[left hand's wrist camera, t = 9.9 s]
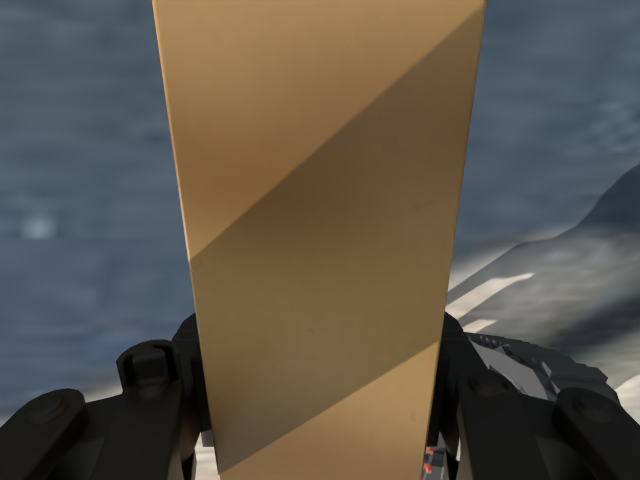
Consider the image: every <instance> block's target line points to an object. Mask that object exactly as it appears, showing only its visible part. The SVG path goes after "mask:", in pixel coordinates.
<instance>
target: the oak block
mask: <svg viewBox="0 0 640 480" xmlns="http://www.w3.org/2000/svg"><path fill="white" fill-rule="evenodd" d="M152 3H153V10H154V18H155V25H156V32H157V39H158V46H159V54H160V61H161V68H162V75H163V82H164V90H165V97H166V104H167V111H168V118H169V125H170V133H171V140H172V147H173V154H174V161H175V169H176V176H177V183H178V190H179V197H180V205H181V212H182V219H183V226H184V233H185V241H186V248H187V255H188V262H189V269H190V276H191V284H192V291H193V298H194V305H195V312H196V320H197V327H198V334H199V341H200V348H201V356H202V363H203V370H204V377H205V384H206V391H207V399H208V406H209V413H210V420H211V427H212V435H213V442H214V449H215V456H216V463H217V471H218V478H219V480H422V475H423V468H424V461H425V453H426V446H427V439H428V431H429V424H430V416H431V409H432V402H433V394H434V387H435V380H436V372H437V365H438V357H439V350H440V343H441V335H442V328H443V321H444V313H445V306H446V299H447V291H448V284H449V276H450V269H451V262H452V254H453V247H454V240H455V232H456V225H457V218H458V210H459V203H460V195H461V188H462V181H463V173H464V166H465V159H466V151H467V144H468V137H469V129H470V122H471V114H472V107H473V100H474V92H475V85H476V78H477V70H478V63H479V55H480V48H481V41H482V33H483V26H484V19H485V11H486V4H487V0H152Z"/></svg>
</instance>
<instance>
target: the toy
mask: <svg viewBox="0 0 640 480" xmlns="http://www.w3.org/2000/svg"><path fill="white" fill-rule="evenodd" d="M465 333H466V335H467V337H468V338H469V340H470V341H471V343H472V344H473V346H474V347H475V349H476V351H477V352H478V354H479V355H480V357H481V358H482V360H483V361H484V363H485V365H486V366H487V368H488V369H490V370H493V371H495V372H497V373H499V374H501V375H503V376H505V377H506V378H507V379H508V380H509V381H511V382H512V383H513V385H514V386H515V388H516V390H517V392H519V393H521V392H520V390H522V391H526V393H527V394H528V395H529V396H533V397H537V398H541V399H546V400H550V401H555V400H556V397H557V394H558V393H559V392H560V391H561V390H562V389H564V388H569V387H576V388H585V389H588V390H591V391H594V392H597V393H599V394H601V395H603V396H605V397H607V398H609V399H611V400H612V401H614V402H615V403H616V404H617V405H619V406H620V407H621V408H622V409H623V407H622V406H621V404H620V401H619V399H618V396H617V393H616V392H615V391H614V390H613V389H612V388H611V387H610V386H609V385H608V384H606V381H607V379H608V377H607V376H606V375H604V374H603V373H602V372H601V371H600V370H599V369H598V368H594V367H587V366H586V365H585V364H580V363H575V362H574V361H573V360H572V359H571V358H570V357H569V356H561V355H560V354H559V353H558V352H557V351H556V350H554V349H547V348H541V347H539V346H538V345H535V344H530V343H529V342H523V341H522V340H514V339H506V338H504V337H499V336H491V335H483V334H476V333H468V332H465ZM445 448H446V445H445V443H444V440H443V437H442V435H441V432H439V438H438V445H437V447H426V453H425V461H424V468H423V475H422V480H440V479H441V473H442V467H443V460H444V454H445Z"/></svg>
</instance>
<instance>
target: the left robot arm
mask: <svg viewBox="0 0 640 480" xmlns="http://www.w3.org/2000/svg"><path fill="white" fill-rule="evenodd" d="M116 364H117V368H118V372H119V376H120V380H121V385H122V389H123V392H122V394H120V395H117V396H113V397H110V398H105V399H101V400H97V401H92V402H88V403H85V399H84V396H83V394H82V393H81V392H79V391H78V390H74V389H69V388H68V389H60V390H55V391H52V392H49V393H46V394H43V395H41V396H39V397H37V398H35V399H33V400H31V401H29V402H28V403H27V404H25V405H24V406H23V407H22V408H20V409H19V410H18V411H17V412H16V413H15V414H14V415H13V416H12V417H11V418H10V419H9V420H8V421H7V422H6V423H5V424H4V425H3V426H2V427H1V428H0V480H195V474H196V463H197V461H196V454H195V445H196V443H197V440H198V437H199V434H200V432H201V437H202V443H203V447H214V442H213V435H212V427H211V420H210V413H209V406H208V399H207V391H206V384H205V377H204V370H203V363H202V356H201V348H200V341H199V334H198V327H197V320H196V312H195V313H194V314H192V315H191V316H190V317H188V318H187V319H186V320H184V321H183V323H182V324H181V326H180V328H179V329H178V331H177V333H176V334H175V335H174V337H173V338H172V341H168V340H151V341H146V342H142V343H140V344H137V345H135V346H133V347H131V348H129V349H128V350H126V351H125V352H124V353H122V354H121V355H120V357H119V358H118V359H117V361H116ZM439 432H441V435H442V437H443V440H444V443H445V445H446V448H445V454H444V460H443V467H442V473H441V479H440V480H640V425H639V424H638V423H637V422H636V421H635V420H634V419H633V418H632V417H631V416H630V415H629V414H628V413H627V412H626V411H625V410H624V409H622V408H621V407H620V406H619V405H617V404H616V403H615V402H614V401H612V400H611V399H609V398H607V397H605V396H603V395H601V394H599V393H597V392H594V391H591V390H588V389H585V388H576V387H569V388H564V389H562V390H561V391H560V392H559V393H558V394H557V397H556V400H555V401H550V400H546V399H541V398H537V397H533V396H528V395H525V394H522V393H519V392H517V390H516V388H515V386H514V385H513V383H512V382H511V381H509V380H508V379H507V378H506V377H505V376H503V375H501V374H499V373H497V372H495V371H493V370H490V369H488V368H487V366H486V365H485V363H484V361H483V360H482V358H481V357H480V355H479V354H478V352H477V351H476V349H475V347H474V346H473V344H472V343H471V341H470V340H469V338H468V337H467V335H466V333H465V332H463V329H462V327H461V326H460V324H459V323H458V321H457V320H456V319H455V318H454V317H452V316H451V315H450V314H448V313H447V312H445V313H444V321H443V328H442V335H441V343H440V350H439V357H438V365H437V372H436V380H435V387H434V394H433V402H432V409H431V416H430V424H429V431H428V439H427V446H426V447H437V445H438V438H439Z"/></svg>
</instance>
